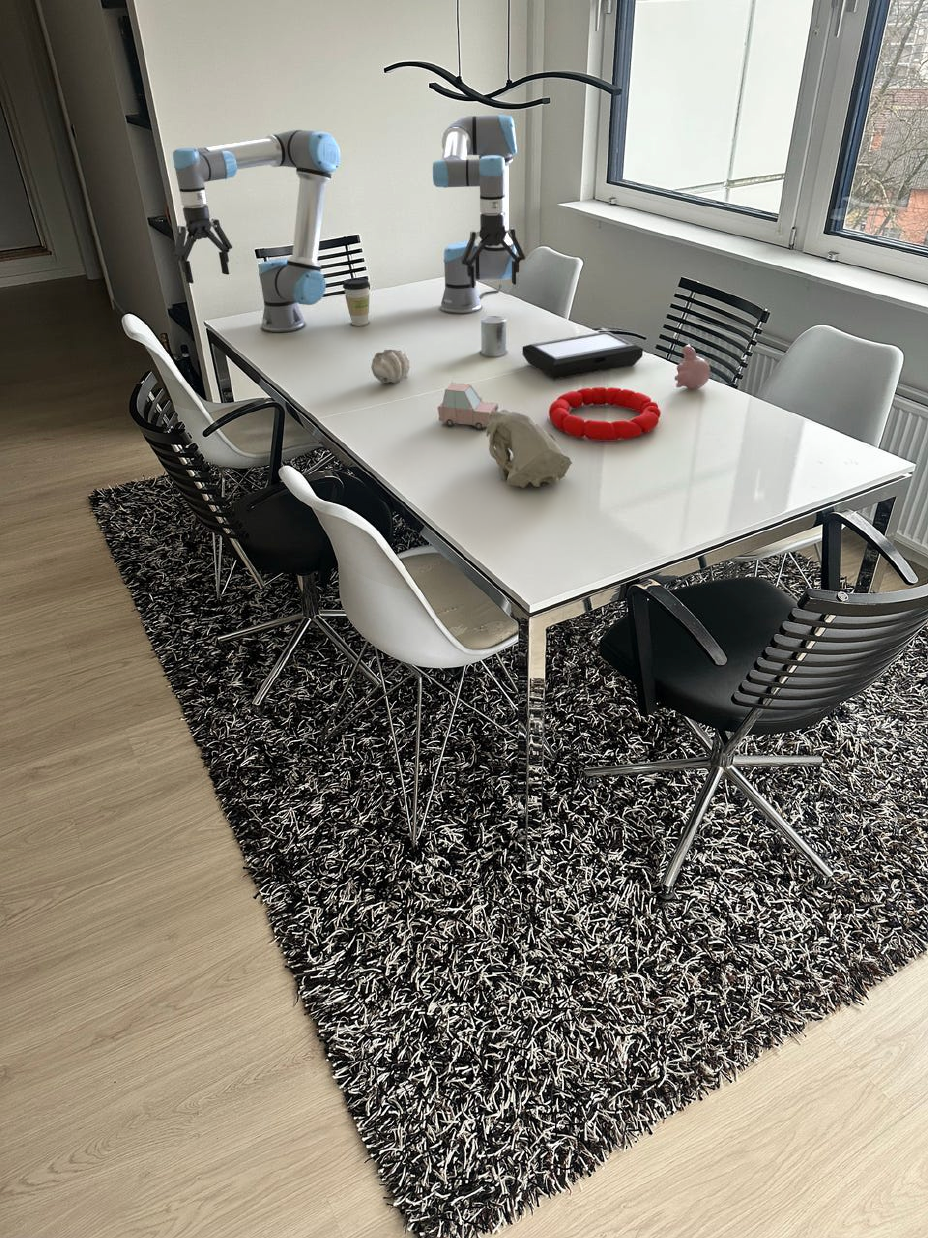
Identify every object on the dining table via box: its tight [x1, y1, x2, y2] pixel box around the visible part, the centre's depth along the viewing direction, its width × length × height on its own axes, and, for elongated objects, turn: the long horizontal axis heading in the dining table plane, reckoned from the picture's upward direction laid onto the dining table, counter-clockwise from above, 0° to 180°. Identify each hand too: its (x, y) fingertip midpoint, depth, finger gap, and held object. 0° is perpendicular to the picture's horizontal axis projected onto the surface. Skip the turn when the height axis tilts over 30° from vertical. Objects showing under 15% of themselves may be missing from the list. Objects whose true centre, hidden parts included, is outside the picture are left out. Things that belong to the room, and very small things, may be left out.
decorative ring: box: [548, 386, 661, 442], centre depth 242 cm, size 7×30×30 cm
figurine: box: [674, 344, 711, 390], centre depth 259 cm, size 9×11×12 cm
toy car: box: [437, 382, 499, 431], centre depth 243 cm, size 9×15×10 cm, turn 70°
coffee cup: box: [342, 277, 371, 327], centre depth 323 cm, size 10×10×15 cm
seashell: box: [371, 349, 411, 384], centre depth 271 cm, size 10×15×10 cm
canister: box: [480, 315, 507, 358], centre depth 292 cm, size 8×8×11 cm
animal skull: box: [485, 409, 573, 489], centre depth 216 cm, size 17×25×20 cm
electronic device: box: [522, 330, 644, 381], centre depth 281 cm, size 32×6×20 cm
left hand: (208, 278), depth 283 cm, fingers open, 13 cm apart
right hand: (493, 285), depth 283 cm, fingers open, 13 cm apart
